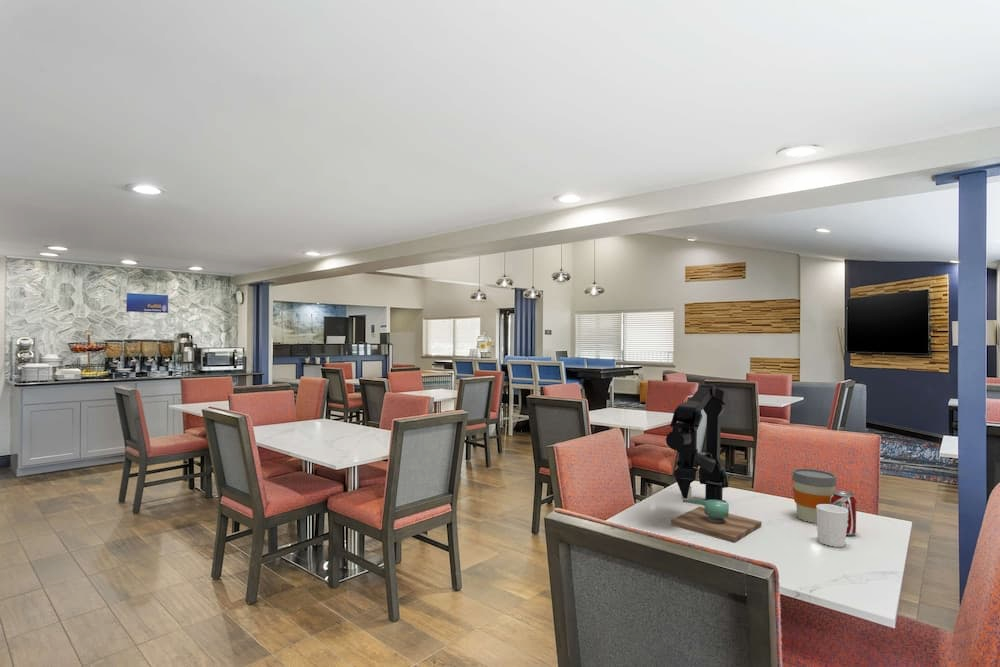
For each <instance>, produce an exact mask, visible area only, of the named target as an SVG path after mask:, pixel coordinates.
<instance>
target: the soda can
mask: <svg viewBox="0 0 1000 667" xmlns="http://www.w3.org/2000/svg"><path fill="white" fill-rule="evenodd" d="M830 505H836V506H840V507H843V508H845V509H847V510H848V522H847V532H846V535H851V536H853V535H855V534H856V533H857V500H856V498H855V494H854V493H852V492H849V491H844V490H834V491H833V495H832V496H831V497H830Z"/></svg>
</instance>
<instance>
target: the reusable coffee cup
mask: <svg viewBox="0 0 1000 667" xmlns="http://www.w3.org/2000/svg"><path fill="white" fill-rule="evenodd" d="M792 481H793V487H792V493H793V500H794V503H795V504H796V505H795V506H796V514H797V519H799V518H800V519H802V520H801V521H803V520H804V521H803V522H805V521H808V522H807V523H809V522H814V523H813V524H815V523H817V510H816V506H817V505H819V504H829V505H830V497H831V496H832V495H833V491H836V490H835V489H836V487H837V476H836V474H834V473H832V472H829V471H825V470H821V469H820V470H819V469H812V468H796V469H793V470H792ZM800 519H799V520H800Z"/></svg>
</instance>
